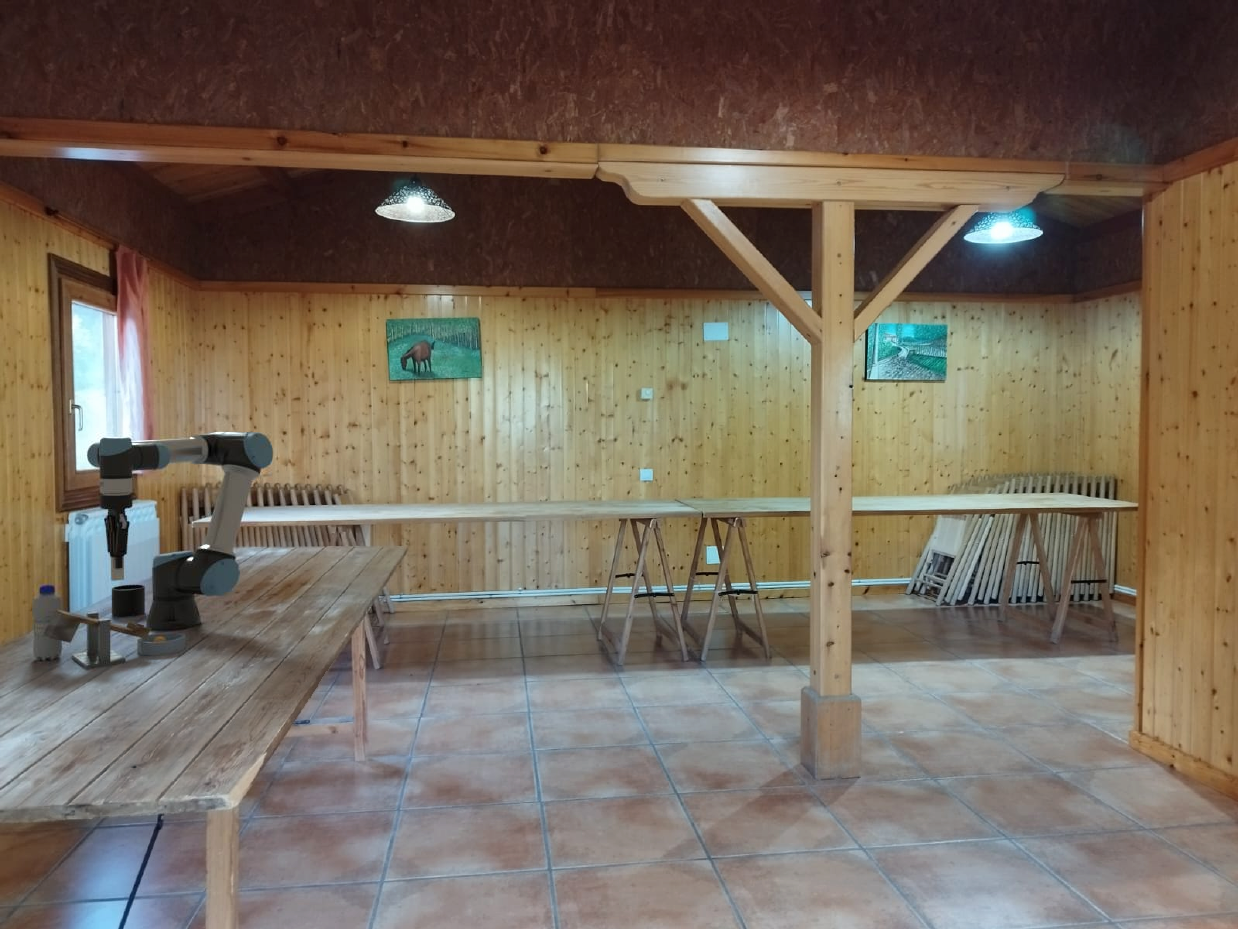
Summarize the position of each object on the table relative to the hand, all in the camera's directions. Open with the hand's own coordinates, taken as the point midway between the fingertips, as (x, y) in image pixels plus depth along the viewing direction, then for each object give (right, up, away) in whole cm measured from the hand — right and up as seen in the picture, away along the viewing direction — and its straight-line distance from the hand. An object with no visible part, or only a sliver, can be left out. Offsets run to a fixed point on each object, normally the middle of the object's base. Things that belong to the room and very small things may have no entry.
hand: (117, 579), depth 221 cm
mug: (-27, -19, +50) cm, 59 cm away
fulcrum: (-3, -21, -4) cm, 22 cm away
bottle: (-17, -21, -3) cm, 27 cm away
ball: (+7, -19, +7) cm, 21 cm away
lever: (-4, -17, -5) cm, 18 cm away
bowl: (+8, -21, +8) cm, 24 cm away
